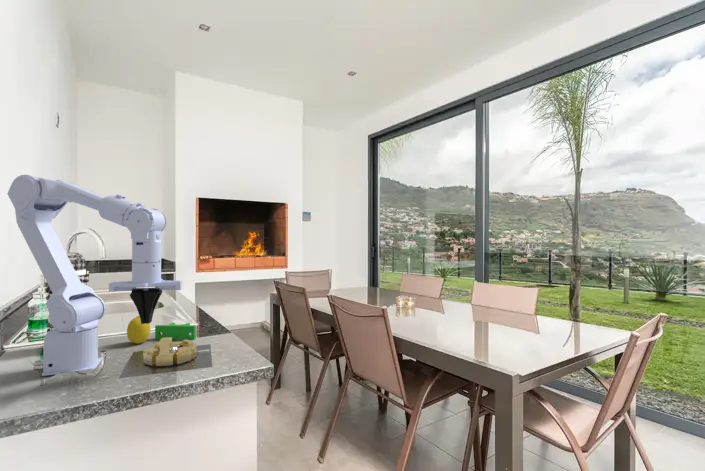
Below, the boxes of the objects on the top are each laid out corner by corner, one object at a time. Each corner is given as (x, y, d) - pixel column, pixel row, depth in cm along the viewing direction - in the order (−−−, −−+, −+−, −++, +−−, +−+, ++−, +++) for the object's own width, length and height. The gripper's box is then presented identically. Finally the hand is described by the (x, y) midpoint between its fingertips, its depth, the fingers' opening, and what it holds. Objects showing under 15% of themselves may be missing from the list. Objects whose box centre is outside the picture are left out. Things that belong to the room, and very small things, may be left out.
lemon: (154, 344, 102) (154, 315, 101) (133, 349, 97) (133, 319, 97) (143, 341, 105) (144, 312, 105) (122, 345, 100) (122, 316, 100)
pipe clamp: (200, 338, 108) (200, 323, 108) (194, 342, 104) (194, 326, 104) (162, 337, 108) (162, 322, 108) (154, 341, 105) (155, 325, 105)
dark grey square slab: (119, 380, 77) (119, 364, 77) (133, 354, 93) (133, 340, 93) (212, 369, 83) (212, 354, 83) (210, 346, 100) (210, 333, 100)
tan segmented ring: (152, 351, 93) (152, 328, 93) (199, 349, 95) (199, 326, 95) (137, 367, 82) (137, 341, 82) (190, 364, 84) (190, 339, 84)
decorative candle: (87, 349, 97) (87, 253, 96) (41, 355, 92) (41, 254, 92) (90, 340, 104) (90, 251, 104) (47, 345, 100) (48, 252, 99)
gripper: (102, 263, 78) (102, 328, 78) (177, 263, 81) (176, 325, 81) (116, 261, 85) (116, 320, 85) (184, 260, 88) (184, 318, 88)
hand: (146, 322), depth 83 cm, fingers closed
